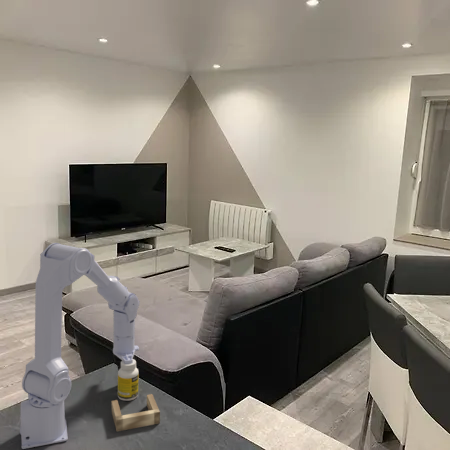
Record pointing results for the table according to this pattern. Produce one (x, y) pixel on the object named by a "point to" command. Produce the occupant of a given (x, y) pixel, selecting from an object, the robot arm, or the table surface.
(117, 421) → the dock
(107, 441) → the table surface
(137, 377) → the supplement bottle
